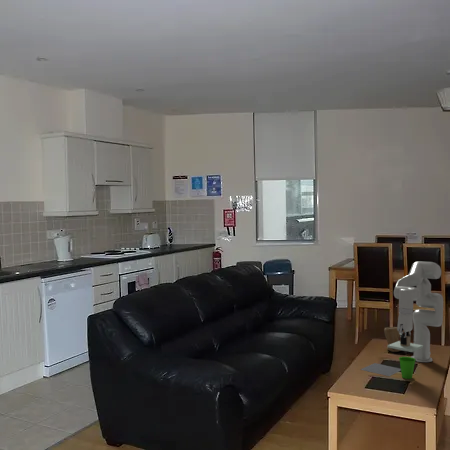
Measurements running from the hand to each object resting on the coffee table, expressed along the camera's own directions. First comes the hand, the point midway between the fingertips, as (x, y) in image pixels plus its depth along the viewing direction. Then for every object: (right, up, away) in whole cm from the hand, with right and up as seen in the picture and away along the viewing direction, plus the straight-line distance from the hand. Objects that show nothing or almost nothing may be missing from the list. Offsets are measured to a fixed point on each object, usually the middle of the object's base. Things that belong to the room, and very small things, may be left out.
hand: (405, 343), depth 294 cm
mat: (-9, -19, +14) cm, 25 cm away
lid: (0, -2, 0) cm, 2 cm away
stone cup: (+12, -18, +61) cm, 65 cm away
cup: (+1, -20, -1) cm, 20 cm away
